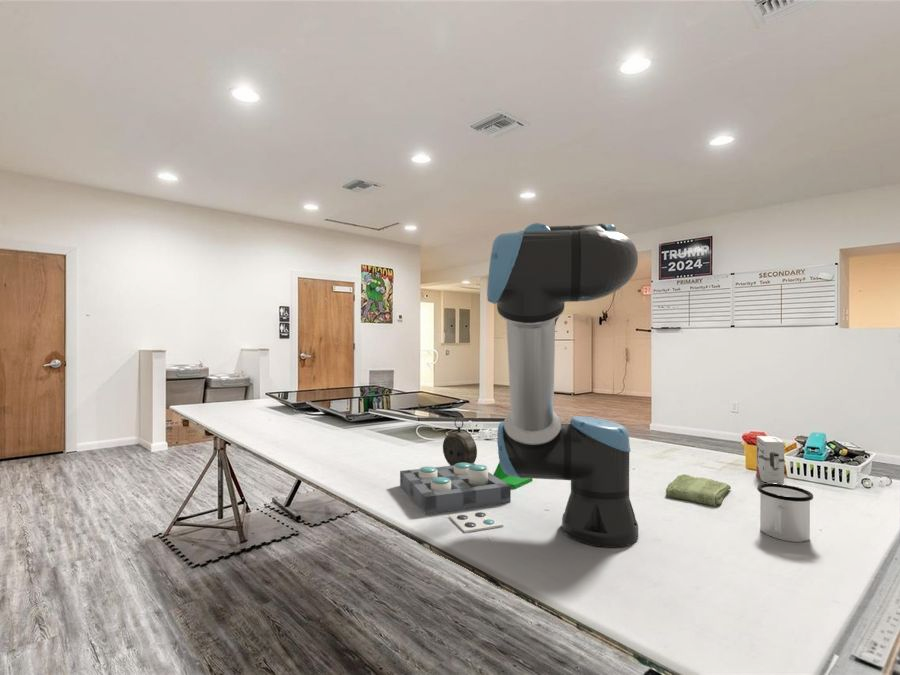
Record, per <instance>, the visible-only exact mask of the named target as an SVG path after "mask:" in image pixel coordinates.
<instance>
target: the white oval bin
mask: <svg viewBox="0 0 900 675" xmlns="http://www.w3.org/2000/svg"><path fill="white" fill-rule="evenodd" d="M756 488H757V489H756V490H757V491H758V492H759V493H760V494H759V496H760V500H759V502H760V503H759V504H760V508H759V509H760V512H759V515H760V517H759V522H760V524H759V526H760V528H759V529H760V530H761V531H762V532H763V533H764V534H765V533H766V534H765V535H767V536H769V537H771V536H772V537H771V538H775V539H777V540H781V541H785V542H793V543H803V541H804V542H807V541H809V540H810V538H811V536H810V535H811V534H810V532H811V528H810V526H811V522H810V521H811V520H810V519H811V518H810V517H811V515H810V514H811V513H810V512H811V501H812V500H813V499H814V494H813V493H812V492H810V491H808V490H806V489H804V488H801V487H798V486H794V485H788V484H784V485H783V484H773V483H760V484H758V485H757V487H756Z"/></svg>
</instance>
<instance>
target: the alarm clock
mask: <svg viewBox="0 0 900 675" xmlns="http://www.w3.org/2000/svg"><path fill="white" fill-rule="evenodd" d="M457 420H460V421H461V423H462V424H461V426H457V424H456V421H457ZM454 426H455V428H456V429H457V431H454V432H450V433H449V434H447V435H446V436H445V437H444V440H443V444H442V452H443V456H444V459H445V460H446V462H447V463H448V465H449V466H452V465H455V464H456V463H469V464H472V463H475V462H476V459H477V457H478V448H477V447H478V446H477V444H476V442H475V439H474V438H473V436H472V435H471V434H470V433H469V432H467V431H466V430H462V428H463V426H464V420H463V419H462V418H461V417H456V418H455V420H454Z"/></svg>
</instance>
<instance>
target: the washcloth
mask: <svg viewBox="0 0 900 675" xmlns="http://www.w3.org/2000/svg"><path fill="white" fill-rule="evenodd" d="M729 490H731V485H730V484H728V483H727V482H721V481H718V480H714V479H712V478H706V477H698V476H697V477H695V476H693V475H692V476H691V475H689V474H686V473H685V474H680V475H678V476H677V477H676V478H675V479H673V481H671V482H670V483H669V484H668V485H667V487H666V488H665V494H666V496H667V497H669V498H674V499H680V500H683V501H690V502H695V503H698V504H703V505H707V506H711V507H717V506H719V505H721V504H722V503H723V500H724V498H725V496H727V494H728V492H729ZM722 499H723V500H722Z"/></svg>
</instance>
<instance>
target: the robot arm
mask: <svg viewBox="0 0 900 675" xmlns="http://www.w3.org/2000/svg"><path fill="white" fill-rule="evenodd" d="M638 262H639V255H638V250H637V247H636V245H635V243H634V242H633V241H632V240H631V239H630V238H629V237H628V236H626V235H625V234H623V233H621V232H618V231H617V228H616V226H615V225H614V224H612V223H597V224H581V225H551V226H548V225H545V224H544V223H539V222H536V223H531V224H529V225H528V226H526V227H525V228H524V230H520V231H516V232H505V233H501V234H499V235H497V236H495V239H494V240H493V242H492V246H491V253H490V260H489V268H488V276H487V277H488V278H487V279H488V280H487V288H486V294H487V302H488V303H492V304H493V305H495V304H496V308H497V310H496V311H497V313H498V315H499V316H500V317H501V318H502V319H503V320H505V321H506V338H507V339H506V340H507V360H508V381H509V403H510V406H509V407H510V411H509V412H508V413H507V414H506V416H505V418H504V421H503V420H502V421H501V422H500V423H499V424H498V425H497V426H498V427H497V435H496V436H497V438H496V439H497V450H498V451H497V454H498V460H499V462H500V465H501V468H502V470H503V472H504V473H505V474H506V475H508V476H513V477H519V478H532V479H537V480H555V481H556V480H557V481H559V480H560V481H562V480H563V481H570V494H569V496H568V499H567V503H566V506H565V510H564V512H563V514H562V518H561V529H562V531H563V533H564V534H566V536H568V537H569V538H571V539H573V540H575V541H577V542H580V543H583V544H587V545H590V546H596V547H604V548H605V547H606V548H621V547H627V546H630V545H632V544H635V543H636V542H637V541H638V539H639V523H638V520H637V519H636V514H635V511H634V509H633V506H632V505H633V504H632V501H631V499H630V452H631V446H630V433H629V431H628V430H627V428H626V427H625V426H623V425H622V424H620V423H617V422H614V421H611V420H607V419H602V418H598V417H592V416H575V415H574V416H573V417H571V419H570V420H569V423H561V422H562V421H561V419H560V417H559V415H558V414H557V413H556V412H555V410H554V407H555V406H554V405H555V404H554V403H555V396H554V395H555V354H556V353H555V350H556V349H555V347H556V344H555V342H556V338H555V337H556V325H557V321H558V319H559V318H560V316H562V314H563V313H564V311H565V303H567V302H568V303H569V302H570V303H571V302H572V303H573V302H575V303H576V302H589V301H596V300H598V299H602V298H604V297H607V296H609V295H612V294H613V293H615V292H617V291H619V290H621V288H623V287H624V286H625V285H626V284H627V283H628V282H629V281H630V280H631V279H632V277H633V276H634V274H635V273H636V271H637V267H638Z"/></svg>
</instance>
